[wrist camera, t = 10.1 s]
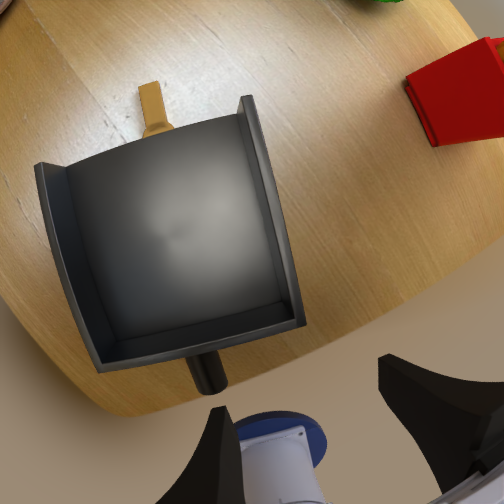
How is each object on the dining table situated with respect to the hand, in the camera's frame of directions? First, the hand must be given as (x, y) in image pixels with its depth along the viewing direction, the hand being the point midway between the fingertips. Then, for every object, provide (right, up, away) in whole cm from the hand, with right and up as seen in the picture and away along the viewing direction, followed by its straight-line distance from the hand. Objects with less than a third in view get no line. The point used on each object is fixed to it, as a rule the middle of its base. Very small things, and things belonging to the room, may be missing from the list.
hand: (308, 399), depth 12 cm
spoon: (-9, +15, +6) cm, 19 cm away
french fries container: (+15, +20, +8) cm, 26 cm away
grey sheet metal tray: (-6, +6, +3) cm, 9 cm away
